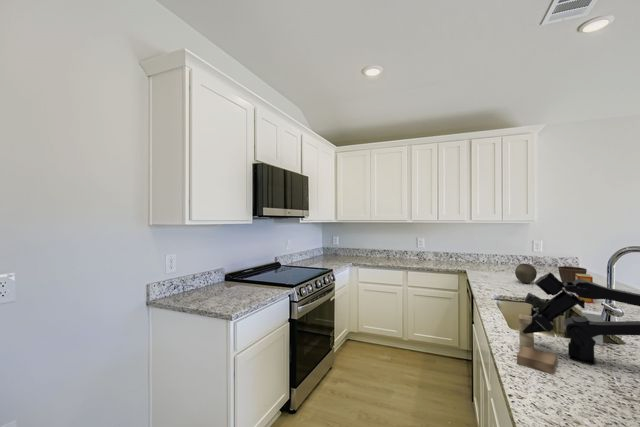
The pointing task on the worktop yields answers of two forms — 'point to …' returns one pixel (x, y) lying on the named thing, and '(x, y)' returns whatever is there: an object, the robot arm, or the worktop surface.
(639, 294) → the robot arm
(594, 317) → the skincare box
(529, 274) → the cantaloupe
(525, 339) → the ash block
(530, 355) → the walnut block
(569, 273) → the plant pot
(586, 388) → the worktop surface
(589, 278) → the baking soda box
